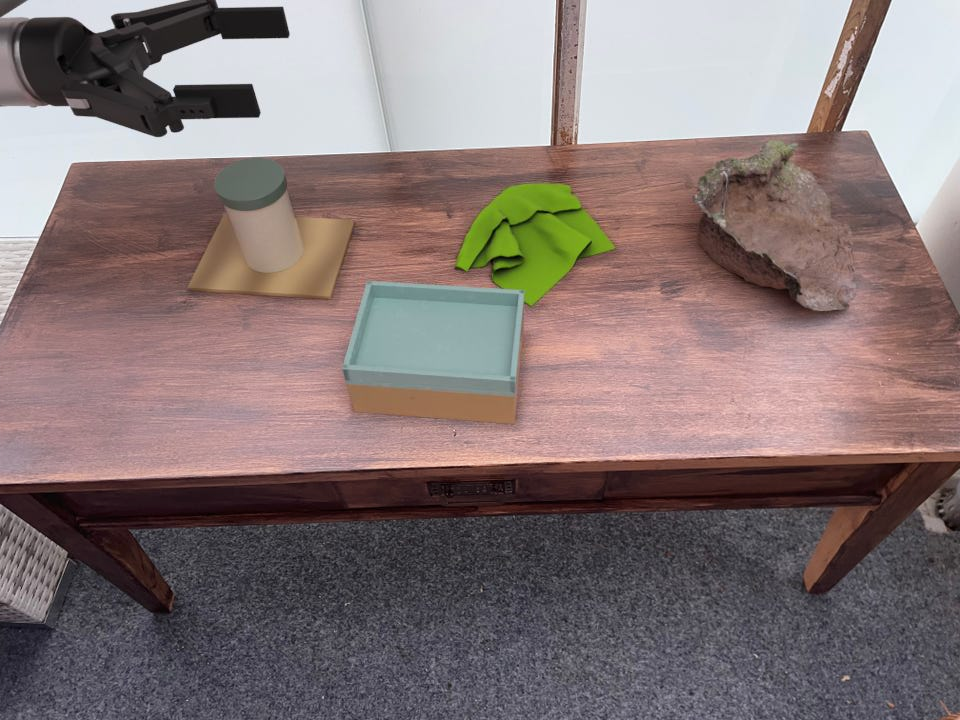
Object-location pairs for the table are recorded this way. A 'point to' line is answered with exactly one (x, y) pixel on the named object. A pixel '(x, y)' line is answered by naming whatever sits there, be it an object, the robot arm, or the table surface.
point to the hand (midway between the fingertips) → (272, 59)
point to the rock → (776, 228)
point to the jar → (260, 213)
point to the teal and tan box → (436, 352)
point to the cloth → (532, 238)
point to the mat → (302, 280)
